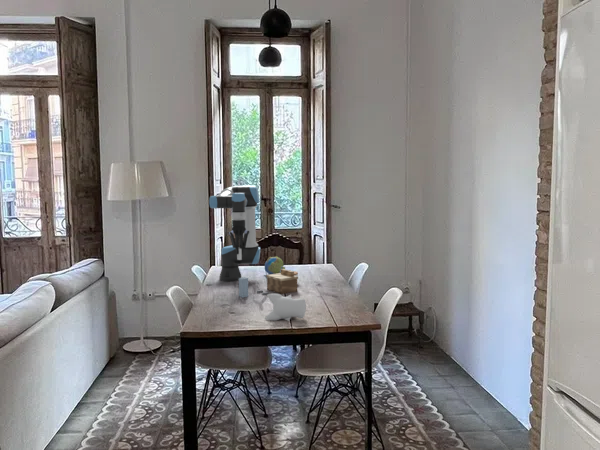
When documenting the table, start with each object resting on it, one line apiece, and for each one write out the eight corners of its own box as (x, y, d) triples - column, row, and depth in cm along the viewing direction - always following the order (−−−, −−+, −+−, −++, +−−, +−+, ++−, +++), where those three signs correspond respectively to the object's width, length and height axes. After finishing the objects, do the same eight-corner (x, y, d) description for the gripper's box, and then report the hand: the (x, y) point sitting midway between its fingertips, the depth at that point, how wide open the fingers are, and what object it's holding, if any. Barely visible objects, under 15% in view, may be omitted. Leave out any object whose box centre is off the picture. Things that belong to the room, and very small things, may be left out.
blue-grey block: (239, 296, 318) (238, 277, 317) (245, 295, 320) (244, 277, 319) (242, 297, 314) (242, 278, 313) (248, 296, 317) (248, 278, 316)
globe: (265, 252, 388) (272, 256, 374) (284, 257, 395) (292, 261, 381) (259, 271, 388) (267, 275, 374) (279, 275, 395) (287, 280, 381)
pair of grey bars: (256, 292, 327) (256, 290, 326) (262, 291, 329) (262, 290, 329) (263, 295, 320) (263, 293, 320) (268, 294, 323) (268, 292, 322)
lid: (266, 276, 335) (266, 270, 335) (283, 274, 342) (283, 268, 342) (280, 281, 321) (280, 274, 321) (298, 278, 328) (298, 271, 328)
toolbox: (267, 289, 336) (267, 276, 335) (283, 287, 342) (283, 274, 342) (280, 294, 323) (280, 280, 322) (297, 291, 329) (297, 278, 329)
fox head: (306, 298, 278) (268, 296, 278) (306, 294, 262) (266, 291, 262) (304, 324, 274) (265, 322, 275) (305, 321, 258) (263, 318, 259)
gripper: (231, 220, 305) (232, 261, 307) (251, 219, 312) (252, 259, 314) (225, 219, 311) (226, 259, 313) (245, 218, 318) (246, 257, 321)
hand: (239, 259), depth 314 cm, fingers closed
